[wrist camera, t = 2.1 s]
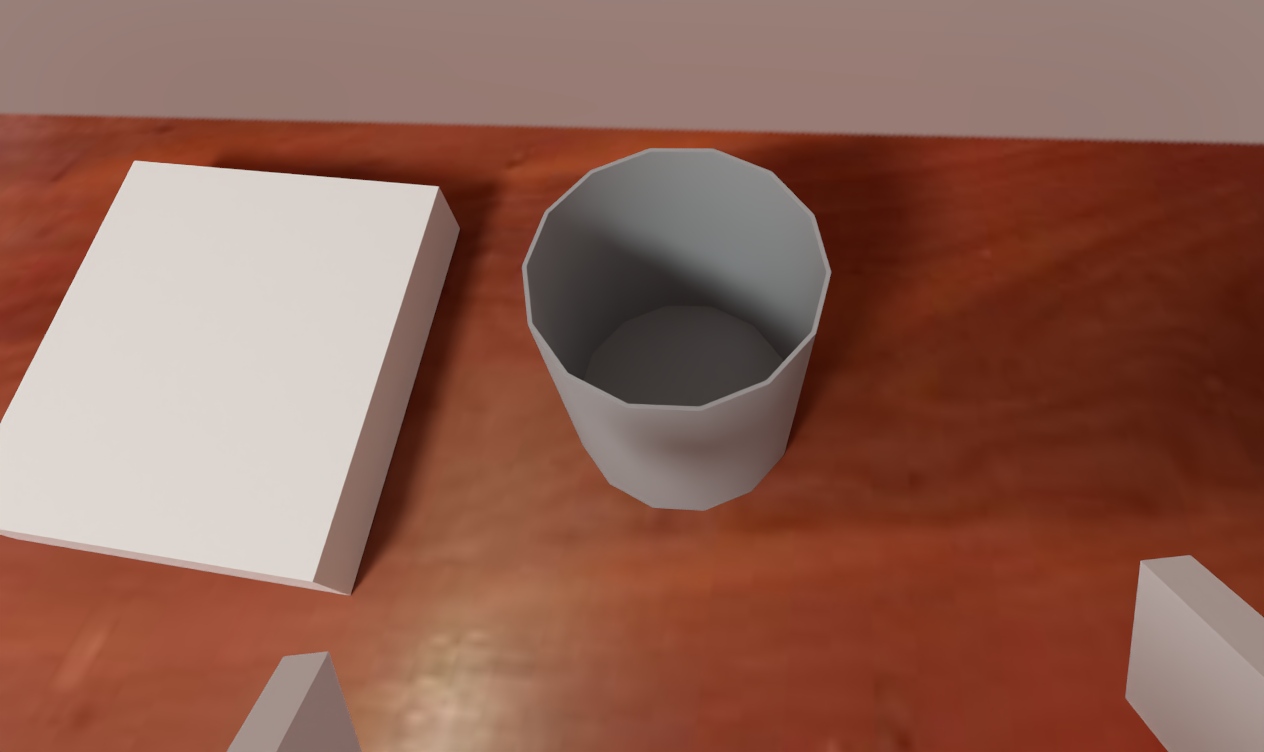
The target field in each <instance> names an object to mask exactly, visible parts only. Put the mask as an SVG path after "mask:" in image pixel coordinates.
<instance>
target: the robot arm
mask: <svg viewBox="0 0 1264 752" xmlns="http://www.w3.org/2000/svg"><path fill="white" fill-rule="evenodd" d="M1125 698H1126V699H1127V701H1128V702H1129V703H1130V704H1131V706H1132V707H1133V708H1134V709H1135V711H1136V712H1137V713H1138V714H1139V716H1140V717H1141V718H1142V719H1143V721H1144V722H1145V723H1146V724H1147V726H1148V727H1149V728H1150V729H1151V731H1152V732H1153V733H1154V734H1155V736H1156V737H1157V738H1158V739H1159V741H1160V742H1161V743H1162V744H1163V746H1164V747H1165V748H1166V749H1167V751H1168V752H1264V617H1262V616H1261V615H1260V614H1259V613H1258V612H1256V611H1255V610H1254V609H1253V608H1252V607H1251V606H1249V605H1248V604H1247V603H1246V602H1245V601H1244V600H1242V599H1241V598H1240V597H1239V596H1238V595H1237V594H1235V593H1234V592H1233V591H1232V590H1231V589H1229V588H1228V587H1227V586H1226V585H1225V584H1224V583H1222V582H1221V581H1220V580H1219V579H1218V578H1217V577H1215V576H1214V575H1213V574H1212V573H1211V572H1210V571H1208V570H1207V569H1206V568H1205V567H1204V566H1203V565H1201V564H1200V563H1199V562H1198V561H1197V560H1195V559H1194V558H1193V557H1192V556H1191V555H1187V556H1178V557H1169V558H1160V559H1151V560H1142V561H1141V562H1140V571H1139V580H1138V589H1137V598H1136V607H1135V616H1134V625H1133V634H1132V643H1131V651H1130V660H1129V669H1128V678H1127V687H1126V696H1125ZM227 752H362V751H361V748H360V745H359V742H358V739H357V736H356V733H355V730H354V726H353V723H352V720H351V717H350V714H349V711H348V708H347V705H346V702H345V699H344V696H343V693H342V690H341V687H340V684H339V681H338V678H337V675H336V672H335V669H334V666H333V663H332V660H331V657H330V654H329V651H328V652H319V653H310V654H302V655H293V656H284V657H283V658H282V660H281V662H280V663H279V665H278V667H277V668H276V670H275V672H274V673H273V675H272V677H271V678H270V680H269V682H268V683H267V685H266V687H265V688H264V690H263V692H262V693H261V695H260V697H259V698H258V700H257V702H256V703H255V705H254V707H253V709H252V710H251V712H250V714H249V715H248V717H247V719H246V720H245V722H244V724H243V725H242V727H241V729H240V730H239V732H238V734H237V735H236V737H235V739H234V740H233V742H232V744H231V745H230V747H229V749H228V750H227Z"/></svg>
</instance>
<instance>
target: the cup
mask: <svg viewBox="0 0 1264 752" xmlns="http://www.w3.org/2000/svg"><path fill="white" fill-rule="evenodd" d="M522 270H523V280H524V290H525V300H526V310H527V320H528V326H529V328H530V330H531V332H532V335H533V337H534V339H535V341H536V343H537V346H538V348H539V350H540V352H541V354H542V357H543V359H544V361H545V363H546V365H547V367H548V370H549V372H550V374H551V376H552V378H553V381H554V383H555V385H556V387H557V389H558V392H559V394H560V396H561V398H562V400H563V402H564V405H565V407H566V409H567V411H568V413H569V416H570V418H571V420H572V422H573V424H574V427H575V429H576V431H577V433H578V435H579V437H580V440H581V442H582V444H583V446H584V447H585V449H586V450H587V452H588V453H589V455H590V456H591V457H592V459H593V460H594V462H595V463H596V465H597V466H598V468H599V469H600V471H601V472H602V473H603V475H604V476H605V478H606V479H607V481H608V482H609V484H611V485H613V486H615V487H616V488H618V489H620V490H622V491H624V492H625V493H627V494H629V495H631V496H633V497H635V498H636V499H638V500H640V501H642V502H644V503H645V504H647V505H649V506H651V507H653V508H667V509H685V510H702V511H704V510H707V509H709V508H712V507H714V506H717V505H719V504H722V503H724V502H727V501H729V500H732V499H734V498H737V497H739V496H741V495H744V494H746V493H749V492H751V491H752V490H753V489H754V488H755V487H756V486H757V485H758V484H759V482H760V481H761V480H762V479H763V478H764V477H765V476H766V475H767V473H768V472H769V471H770V470H771V469H772V468H773V467H774V466H775V464H776V463H777V462H778V461H779V460H780V459H781V458H782V457H783V455H784V453H785V449H786V445H787V442H788V438H789V434H790V430H791V426H792V423H793V419H794V415H795V411H796V408H797V404H798V400H799V396H800V392H801V389H802V385H803V381H804V377H805V373H806V370H807V366H808V362H809V358H810V355H811V351H812V347H813V343H814V339H815V336H816V332H817V328H818V324H819V320H820V316H821V312H822V308H823V304H824V300H825V296H826V292H827V288H828V284H829V280H830V276H831V270H830V266H829V263H828V260H827V256H826V253H825V249H824V246H823V242H822V239H821V236H820V232H819V229H818V225H817V222H816V218H815V215H814V214H813V213H812V212H811V211H810V210H809V209H808V208H807V207H806V206H805V205H804V204H803V203H802V202H801V201H800V200H799V199H798V198H797V197H796V196H795V195H794V194H793V193H792V192H791V190H790V189H789V188H788V187H787V186H786V185H785V184H784V183H783V182H782V181H781V180H780V179H779V178H778V177H777V176H776V175H775V174H774V173H773V172H772V171H769V170H767V169H764V168H762V167H759V166H756V165H754V164H751V163H749V162H746V161H744V160H741V159H739V158H736V157H734V156H731V155H729V154H726V153H723V152H721V151H718V150H716V149H666V148H650V149H647V150H644V151H641V152H639V153H636V154H633V155H631V156H628V157H625V158H623V159H620V160H617V161H615V162H612V163H609V164H606V165H604V166H601V167H598V168H596V169H593V170H590V171H589V172H588V173H587V174H586V175H585V176H584V177H583V178H581V179H580V180H579V181H578V182H577V183H576V184H575V185H574V186H573V187H572V188H570V189H569V190H568V191H567V192H566V193H565V194H564V195H563V196H562V197H560V198H559V199H558V200H557V201H556V202H555V203H554V204H553V205H552V206H551V207H549V208H548V209H547V210H546V211H545V213H544V215H543V217H542V220H541V222H540V224H539V227H538V229H537V232H536V234H535V236H534V239H533V241H532V244H531V246H530V248H529V251H528V253H527V255H526V258H525V260H524V263H523V265H522Z"/></svg>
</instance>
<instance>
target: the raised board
mask: <svg viewBox="0 0 1264 752" xmlns="http://www.w3.org/2000/svg"><path fill="white" fill-rule="evenodd" d="M459 231H460V227H459V225H458V223H457V221H456V219H455V217H454V215H453V213H452V211H451V209H450V207H449V205H448V203H447V202H446V200H445V198H444V196H443V194H442V192H441V190H440V188H439V186H427V185H415V184H404V183H392V182H380V181H368V180H356V179H344V178H332V177H321V176H309V175H297V174H285V173H273V172H261V171H250V170H238V169H226V168H214V167H202V166H190V165H179V164H167V163H155V162H143V161H134V162H133V164H132V166H131V168H130V170H129V172H128V174H127V176H126V178H125V180H124V182H123V184H122V186H121V188H120V190H119V192H118V194H117V196H116V198H115V200H114V202H113V204H112V205H111V207H110V209H109V211H108V213H107V215H106V217H105V219H104V221H103V223H102V225H101V227H100V229H99V231H98V233H97V235H96V237H95V239H94V241H93V243H92V245H91V247H90V249H89V251H88V253H87V255H86V256H85V258H84V260H83V262H82V264H81V266H80V268H79V270H78V272H77V274H76V276H75V278H74V280H73V282H72V284H71V286H70V288H69V290H68V292H67V294H66V296H65V298H64V300H63V302H62V304H61V306H60V307H59V309H58V311H57V313H56V315H55V317H54V319H53V321H52V323H51V325H50V327H49V329H48V331H47V333H46V335H45V337H44V339H43V341H42V343H41V345H40V347H39V349H38V351H37V353H36V355H35V357H34V359H33V360H32V362H31V364H30V366H29V368H28V370H27V372H26V374H25V376H24V378H23V380H22V382H21V384H20V386H19V388H18V390H17V392H16V394H15V396H14V398H13V400H12V402H11V404H10V406H9V408H8V410H7V411H6V413H5V415H4V417H3V419H2V421H1V423H0V535H4V536H8V537H11V538H15V539H19V540H25V541H31V542H37V543H43V544H49V545H55V546H61V547H67V548H72V549H78V550H84V551H90V552H96V553H102V554H108V555H114V556H120V557H126V558H131V559H137V560H143V561H149V562H155V563H161V564H167V565H173V566H179V567H185V568H190V569H196V570H202V571H208V572H214V573H220V574H226V575H232V576H238V577H244V578H249V579H255V580H261V581H267V582H273V583H279V584H285V585H291V586H297V587H303V588H308V589H314V590H320V591H326V592H332V593H338V594H344V595H350V596H351V592H352V589H353V585H354V582H355V579H356V575H357V572H358V569H359V565H360V562H361V559H362V555H363V552H364V549H365V545H366V542H367V539H368V535H369V532H370V529H371V525H372V522H373V519H374V515H375V512H376V509H377V505H378V502H379V499H380V495H381V492H382V488H383V485H384V482H385V478H386V475H387V472H388V468H389V465H390V462H391V458H392V455H393V452H394V448H395V445H396V442H397V438H398V435H399V432H400V428H401V425H402V422H403V418H404V415H405V412H406V408H407V405H408V402H409V398H410V395H411V392H412V388H413V385H414V381H415V378H416V375H417V371H418V368H419V365H420V361H421V358H422V355H423V351H424V348H425V345H426V341H427V338H428V335H429V331H430V328H431V325H432V321H433V318H434V315H435V311H436V308H437V305H438V301H439V298H440V295H441V291H442V288H443V285H444V281H445V278H446V274H447V271H448V268H449V264H450V261H451V258H452V254H453V251H454V248H455V244H456V241H457V238H458V234H459Z"/></svg>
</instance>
